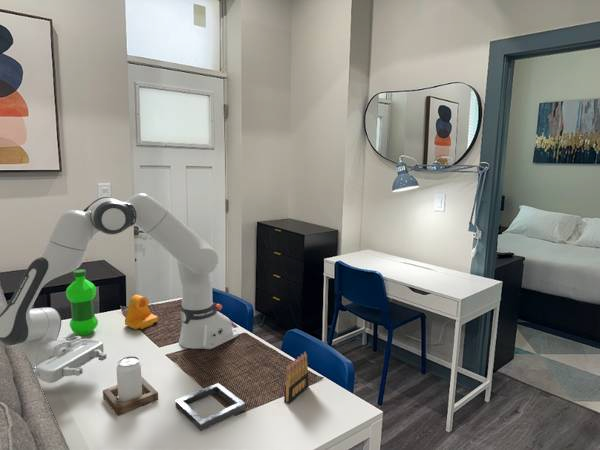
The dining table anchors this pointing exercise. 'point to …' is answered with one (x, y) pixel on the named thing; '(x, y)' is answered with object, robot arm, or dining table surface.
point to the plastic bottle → (82, 304)
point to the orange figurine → (139, 313)
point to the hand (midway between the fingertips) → (93, 364)
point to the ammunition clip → (296, 378)
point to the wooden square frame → (133, 404)
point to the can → (129, 379)
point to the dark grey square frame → (215, 418)
